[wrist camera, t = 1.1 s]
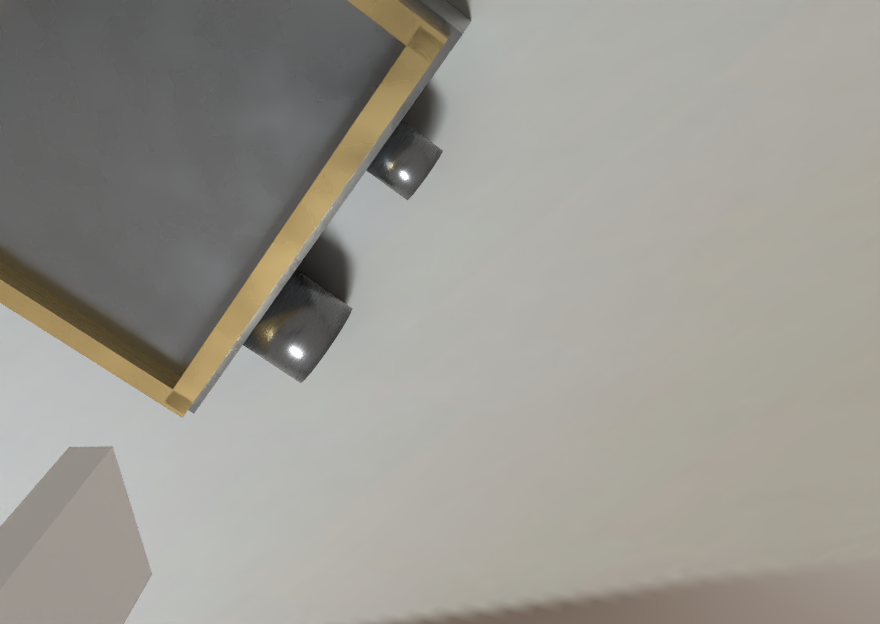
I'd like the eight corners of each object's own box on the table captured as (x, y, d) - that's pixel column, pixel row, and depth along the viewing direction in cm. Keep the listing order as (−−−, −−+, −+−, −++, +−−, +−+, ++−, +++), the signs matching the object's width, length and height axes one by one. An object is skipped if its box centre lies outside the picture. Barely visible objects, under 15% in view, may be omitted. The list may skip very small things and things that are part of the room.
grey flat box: (-77, 172, 37) (-161, 207, 33) (109, -265, 29) (30, -299, 24) (276, 402, 40) (244, 463, 36) (532, 68, 32) (531, 92, 28)
